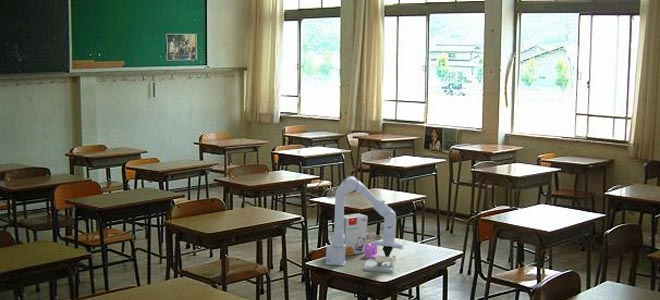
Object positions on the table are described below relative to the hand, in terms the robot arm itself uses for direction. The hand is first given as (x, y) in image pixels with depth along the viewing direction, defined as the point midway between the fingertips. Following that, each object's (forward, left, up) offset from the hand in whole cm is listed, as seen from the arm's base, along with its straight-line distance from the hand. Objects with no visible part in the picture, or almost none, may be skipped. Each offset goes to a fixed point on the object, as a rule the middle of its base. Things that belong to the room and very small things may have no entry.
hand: (387, 261), depth 403 cm
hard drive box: (-21, +21, -3) cm, 30 cm away
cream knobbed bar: (-1, -3, 0) cm, 3 cm away
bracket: (-6, +14, -3) cm, 16 cm away
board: (-4, -4, -3) cm, 6 cm away
